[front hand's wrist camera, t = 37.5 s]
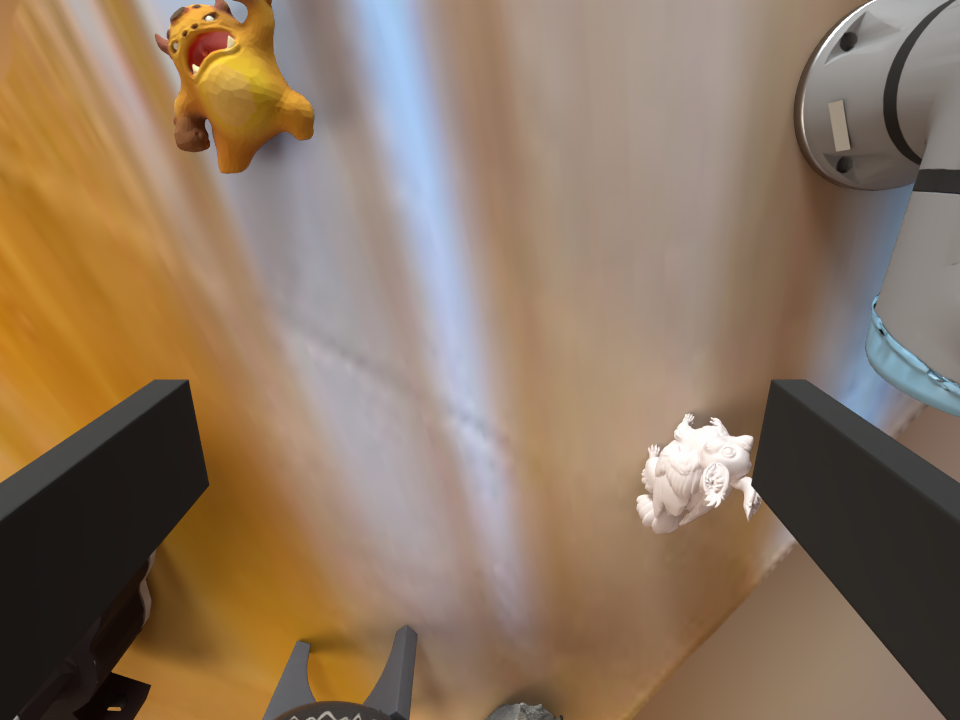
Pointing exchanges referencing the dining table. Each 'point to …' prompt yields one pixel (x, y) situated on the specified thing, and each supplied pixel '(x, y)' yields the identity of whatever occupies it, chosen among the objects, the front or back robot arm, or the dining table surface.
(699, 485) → the figurine
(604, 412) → the dining table surface
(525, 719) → the rock
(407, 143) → the dining table surface
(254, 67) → the toy
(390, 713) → the planter
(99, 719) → the mechanical component
